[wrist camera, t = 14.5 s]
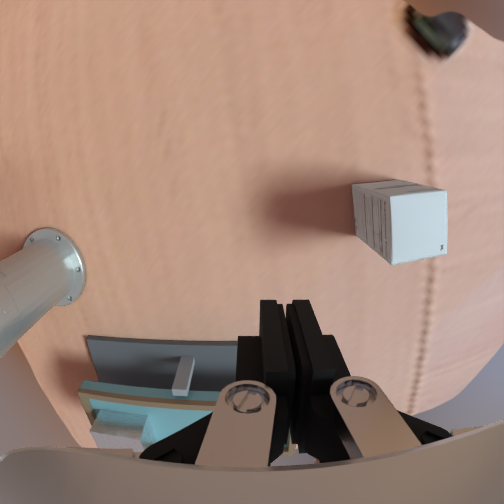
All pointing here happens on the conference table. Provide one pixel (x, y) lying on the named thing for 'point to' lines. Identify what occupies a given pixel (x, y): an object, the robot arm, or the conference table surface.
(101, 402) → the beam
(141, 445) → the steel block
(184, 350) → the stand
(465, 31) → the conference table surface
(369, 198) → the supplement box
